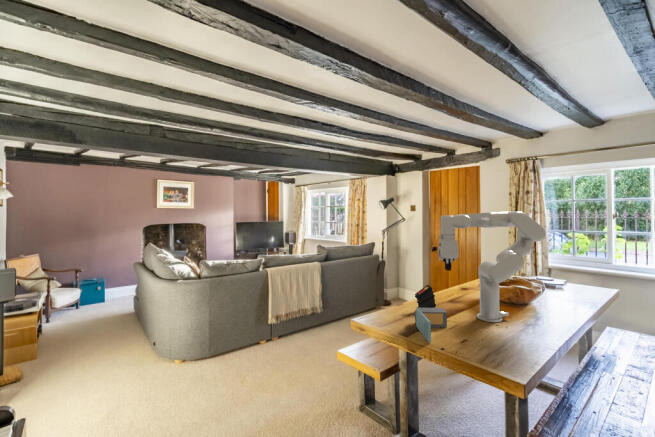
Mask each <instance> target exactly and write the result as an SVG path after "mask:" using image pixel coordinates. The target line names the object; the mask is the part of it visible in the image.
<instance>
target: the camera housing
mask: <svg viewBox="0 0 655 437" xmlns="http://www.w3.org/2000/svg"><path fill="white" fill-rule="evenodd" d="M418 309H419V310H420V311H421V312H422V313H423V314H424V315H425V316H426V317H427V318H428V319H429V320H430V322H431V328H440V327H442V329H443V327H445V329H446V327H447V328H448V318H447V317H448V314H447V313H448V312H447V310H445V308H444V307H435V308H418ZM413 313H414V317H413V318H414V321H415V323H416V309H415V310H414V312H413Z"/></svg>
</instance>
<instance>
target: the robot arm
mask: <svg viewBox="0 0 655 437" xmlns="http://www.w3.org/2000/svg"><path fill="white" fill-rule="evenodd" d="M472 227H473V228H474V227H476V228H484V229H490V228H491V229H492V228H508V227H509V228H510V227H511V228H517V231H516V239H515V242H513V244H511V245H509V247H507V248H505V249H504V250H502V251H500V252H499V253H497V255H496V257H495V261H496V262H492V261H488V260H487V261H486V260H485V261H483V262H481V263H480V264H479V266H478V270H477V274H478V279H479V313H477V314H476V318H477V319H479V320H481V321H484V322H488V323H500V322H502V321H503V317H509V316H510V313H509V312H504V311H500V284H501V283H503V282H504V281H506V280H508V279H509V278H511V277H513V276H514V275H515V274H517V273H518V272H520V271H521V270H522V269H523V268H524V266H525V257H526V256H528V254H530V253H531V251H532V249H533V243H534V242H540V241H541V242H542V240H544V239H545V238H546V236H547V235H546V233H547V232H546V230H545V228H544V227H543V226H542V225H541V224H539V223H538V222H537V221H535V220H534V219H533V218H531V217H530V216H529V215H528V214H526V213H525V212H524V211H520V210H519V211H518V210H517V211H515V210H514V211H513V210H509V211H508V210H506V211H489V212H488V211H487V212H478V213H462V214H459V213H458V214H455V215H451V214H450V215H448V214H446V215H441V216H440V235H439V236H438V238H439V243H438V251H437V252H438V253H437V255H438V260H439V261H443V263H444V269H445V271H448V272H449V271H452V264H453V262H454V261H456V260H458V258H459V256H460V254H459V253H460V252H459V244H458V240H457V239H456V229H468V228H472Z"/></svg>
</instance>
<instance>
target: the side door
mask: <svg viewBox="0 0 655 437" xmlns="http://www.w3.org/2000/svg"><path fill="white" fill-rule="evenodd" d="M415 310H416V322H415V327H416V328H417V330H418V331H419V333H421V335H422V336H423V338H424V339H425V340H426V342H427V343H432V327H431V322H430V320H429V319H428V318H427V317H426V316H425V315H424V314H423V313H422V312H421V311H420V310H419V309H418V308H417V307H415Z"/></svg>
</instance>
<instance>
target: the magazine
mask: <svg viewBox="0 0 655 437" xmlns="http://www.w3.org/2000/svg"><path fill="white" fill-rule="evenodd" d="M433 289H434V288H433V287H431V285H428V284H426V285H425V286H424V287H422V288H421V289H420V290H419V291H417V292H416V293H415V294H414V298H416V303H417V307H416V308H436V307H437V303H436V299H435V297H436V295H435V294H434V290H433Z"/></svg>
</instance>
